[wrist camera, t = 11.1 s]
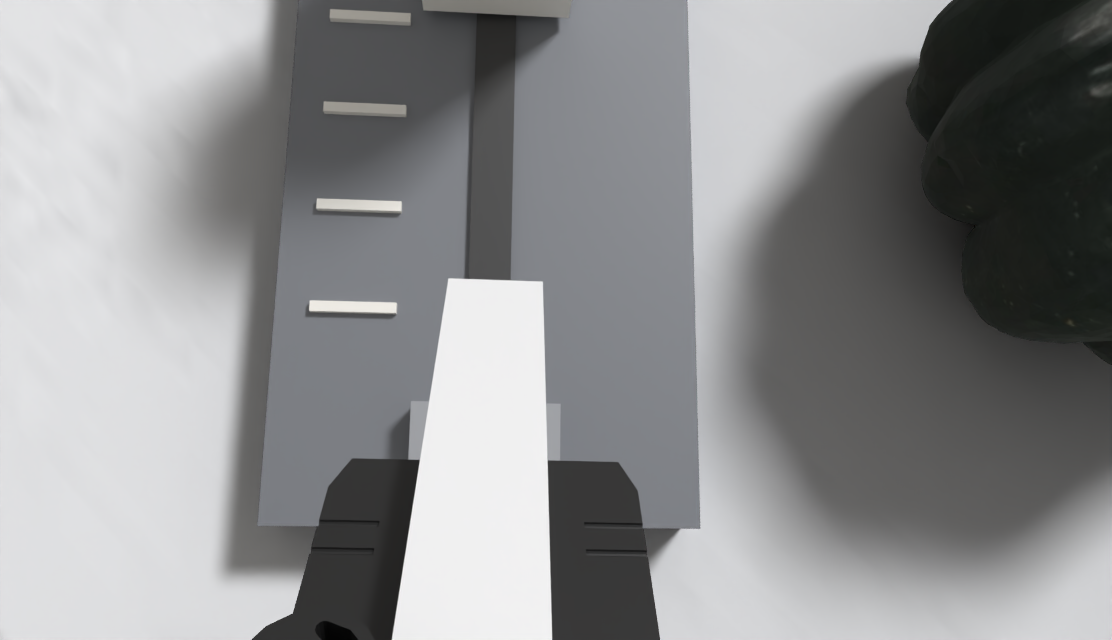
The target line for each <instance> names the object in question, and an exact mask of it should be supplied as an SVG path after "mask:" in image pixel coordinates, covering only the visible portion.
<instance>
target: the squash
mask: <svg viewBox="0 0 1112 640" xmlns="http://www.w3.org/2000/svg"><path fill="white" fill-rule="evenodd" d="M906 104H907V106H908V108H909V112H910V116H911V119H912V121H913V123H914V125H915V127H916V129H917V130H918V131H919V132H920V133H921V135H922V136H923V137H924V138H925V139H926V140H927V141H928V142H929V143H928V146H927V149H926V152H925V155H924V159H923V162H922V166H921V171H922V184H923V189H924V192H925V194H926V197H927V198H928V200H929V201H930V202H931V204H932V205H933V206H934V207H935V208H936V209H938V210H939V211H940V212H941V213H943V214H945V215H947V216H949V217H951V218H953V219H955V220H959V221H962V222H966V223H969V224H973V225H976V226H975V227H974V229H973V230H972V231H971V232H970V234H969V236H968V238H967V240H966V242H965V245H964V250H963V254H962V278H963V286H964V291H965V294H966V296H967V297H968V299H969V300H970V302H971V303H972V305H973V306H974V308H975V309H976V311H977V312H978V314H979V315H980V317H981V318H982V319H983V320H984V321H985V322H986V323H987V324H989V325H991V326H993V327H995V328H996V329H998V330H999V331H1001V332H1004V333H1006V334H1009V335H1012V336H1014V337H1018V338H1023V339H1027V340H1033V341H1045V342H1057V343H1075V342H1083V343H1084V344H1085V345H1086V346H1087V347H1088V348H1089V349H1091V350H1092V351H1093V352H1094V353H1095V354H1096V355H1098V356H1099V357H1100V358H1101V359H1103V360H1104V361H1106V362H1107V363H1109V364H1111V365H1112V0H953V1H951V2H950V3H949V4H948V5H947V6H946V7H945V8H944V9H943V10H942V11H941V12H940V13H939V14H938V16H937V17H936V18H935V19H934V21H933V22H932V23H931V25H930V26H929V30H928V33H927V35H926V38H925V41H924V44H923V47H922V50H921V54H920V63H919V68H918V70H917V72H916V74H915V76H914V78H913V80H912V82H911V84H910V86H909V87H908V89H907V99H906Z"/></svg>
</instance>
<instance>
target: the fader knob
mask: <svg viewBox="0 0 1112 640" xmlns="http://www.w3.org/2000/svg"><path fill="white" fill-rule="evenodd" d="M571 1H572V0H422V4H423V10H426V11H445V12H464V13H483V14H502V15H521V16H540V17H559V18H569V13H570V7H571Z"/></svg>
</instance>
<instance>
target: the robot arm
mask: <svg viewBox="0 0 1112 640" xmlns="http://www.w3.org/2000/svg"><path fill="white" fill-rule="evenodd" d="M252 640H660V636H659V629H658V622H657V616H656V609H655V602H654V595H653V589H652V582H651V575H650V569H649V562H648V557H647V549H646V542H645V535H644V530H643V522H642V515H641V508H640V502H639V495H638V490H637V489H636V487H635V486H634V484H633V483H632V481H631V480H630V478H629V477H628V475H627V474H626V473H625V471H624V470H623V468H622V467H621V465H620V464H619V462H599V461H555V460H547V422H546V383H545V345H544V307H543V282H542V281H512V280H483V279H453V278H448V285H447V291H446V297H445V304H444V310H443V316H442V323H441V329H440V336H439V342H438V348H437V355H436V361H435V367H434V374H433V380H432V387H431V393H430V399H429V406H428V412H427V419H426V425H425V431H424V438H423V444H422V450H421V457H420V460H408V459H363V458H352V459H351V460H350V461H349V463H348V464H347V465H346V466H345V467H344V468H343V470H342V471H341V472H340V473H339V474H338V476H337V477H336V478H335V479H334V480H333V481H332V483H331V484H330V485H329V486H328V489H327V493H326V496H325V500H324V503H323V507H322V511H321V514H320V518H319V526H317V529H316V532H315V536H314V539H313V543H312V547H311V554H309V557H308V561H307V565H306V568H305V572H304V575H303V579H302V583H301V586H300V590H299V593H298V597H297V601H296V604H295V608H294V611H293V614H291V615H289V616H287V617H285V618H282V619H280V620H278V621H276V622H274V623H272V624H270V625H268V626H266V627H265V628H264V629H263V630H261V631H260V632H259V633H258V634H257V635H256V636H255V637H254V638H253V639H252Z"/></svg>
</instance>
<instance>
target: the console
mask: <svg viewBox="0 0 1112 640" xmlns="http://www.w3.org/2000/svg"><path fill="white" fill-rule="evenodd" d="M448 278H453V279H483V280H512V281H542V282H543V307H544V345H545V383H546V422H547V460H555V461H599V462H619V464H620V465H621V467H622V468H623V470H624V471H625V473H626V474H627V475H628V477H629V478H630V480H631V481H632V483H633V484H634V486H635V487H636V489H637V490H638V495H639V502H640V508H641V515H642V522H643V528H684V529H700V500H699V459H698V418H697V377H696V336H695V295H694V254H693V213H692V172H691V131H690V90H689V49H688V7H687V0H572V1H571V7H570V13H569V18H559V17H540V16H521V15H502V14H483V13H464V12H445V11H426V10H423V4H422V0H299V3H298V15H297V28H296V41H295V53H294V66H293V79H292V92H291V104H290V117H289V130H288V143H287V155H286V168H285V181H284V193H283V206H282V219H281V232H280V244H279V257H278V270H277V282H276V295H275V308H274V321H273V333H272V346H271V359H270V372H269V384H268V397H267V410H266V422H265V435H264V448H263V461H262V473H261V486H260V499H259V511H258V524H257V526H319V518H320V514H321V511H322V507H323V503H324V500H325V496H326V493H327V489H328V486H329V485H330V484H331V483H332V481H333V480H334V479H335V478H336V477H337V476H338V474H339V473H340V472H341V471H342V470H343V468H344V467H345V466H346V465H347V464H348V463H349V461H350V460H351V459H352V458H363V459H408V460H420V457H421V450H422V444H423V438H424V431H425V425H426V419H427V412H428V406H429V399H430V393H431V387H432V380H433V374H434V367H435V361H436V355H437V348H438V342H439V336H440V329H441V323H442V316H443V310H444V304H445V297H446V291H447V285H448Z"/></svg>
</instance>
